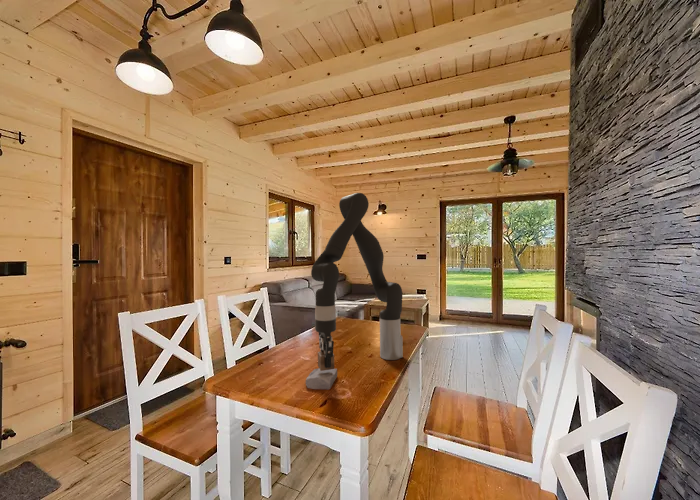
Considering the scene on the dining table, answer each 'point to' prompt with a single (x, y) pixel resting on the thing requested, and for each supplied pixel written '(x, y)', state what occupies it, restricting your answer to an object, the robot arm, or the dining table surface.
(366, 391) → the dining table surface
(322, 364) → the walnut cube
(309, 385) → the stone block
